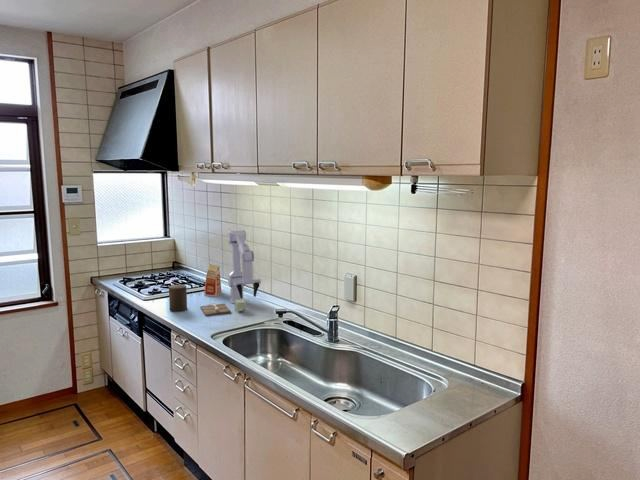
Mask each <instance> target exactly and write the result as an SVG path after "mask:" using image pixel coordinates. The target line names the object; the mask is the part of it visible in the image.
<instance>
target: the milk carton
mask: <svg viewBox="0 0 640 480" xmlns="http://www.w3.org/2000/svg"><path fill="white" fill-rule="evenodd" d="M220 267H221V266H220V265H217V264H212V263H208V268H207V271H206V276H205V281H204V282H205V284H204V297H218V296H220V295H222V283H221V280H222V279H221V273H220Z"/></svg>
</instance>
